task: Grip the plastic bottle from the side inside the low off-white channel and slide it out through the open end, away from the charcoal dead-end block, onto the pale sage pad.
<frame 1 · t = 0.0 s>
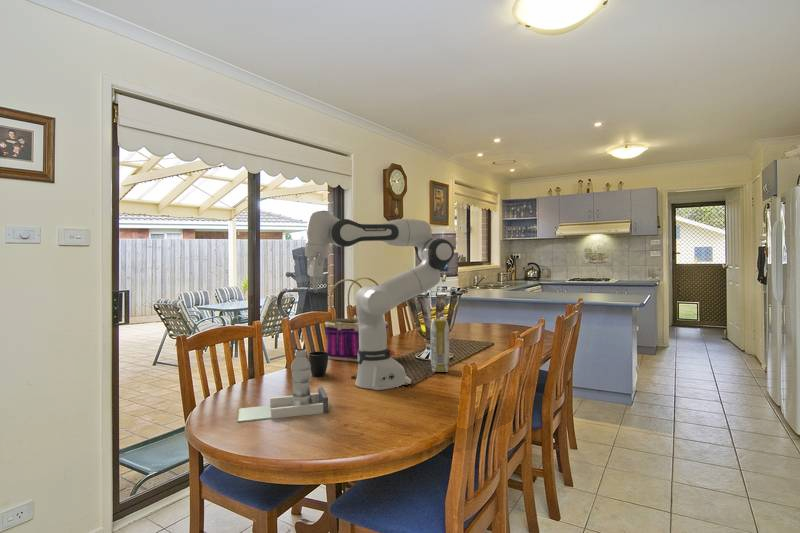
hand: (313, 288, 174), 39 cm above the table, tool pointing down, fingers open, 8 cm apart
channel: (297, 409, 153), on the table
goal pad: (254, 414, 149), on the table
mug: (320, 374, 198), on the table
basket: (356, 358, 229), on the table
juice carton: (439, 371, 202), on the table
plastic bottle: (301, 409, 153), resting in channel
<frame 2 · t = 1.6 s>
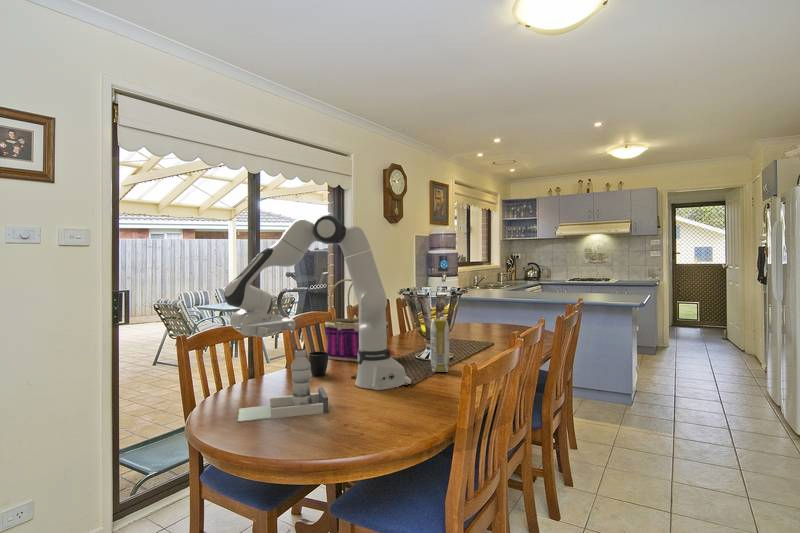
hand: (280, 329, 161), 26 cm above the table, tool horizontal, fingers open, 8 cm apart
nothing on the table moved.
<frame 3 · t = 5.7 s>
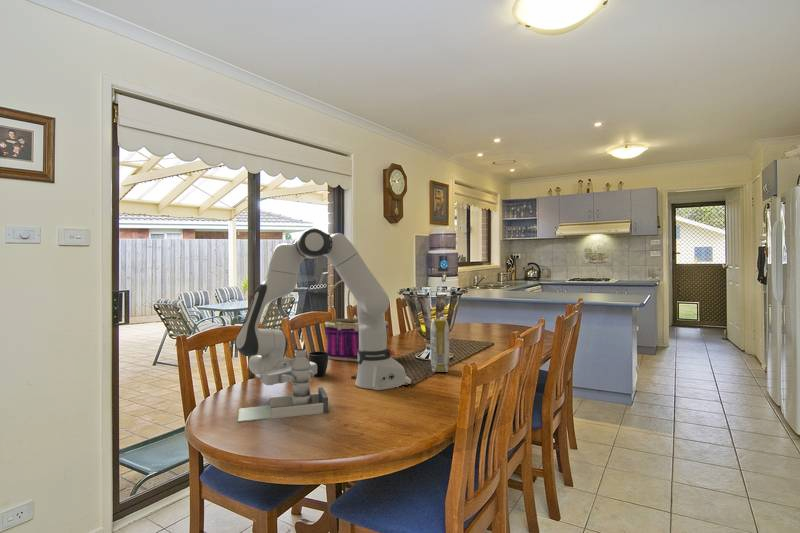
hand: (302, 377, 152), 11 cm above the table, tool horizontal, fingers open, 6 cm apart
plastic bottle: (301, 409, 153), resting in channel, touching gripper
everything else where it was.
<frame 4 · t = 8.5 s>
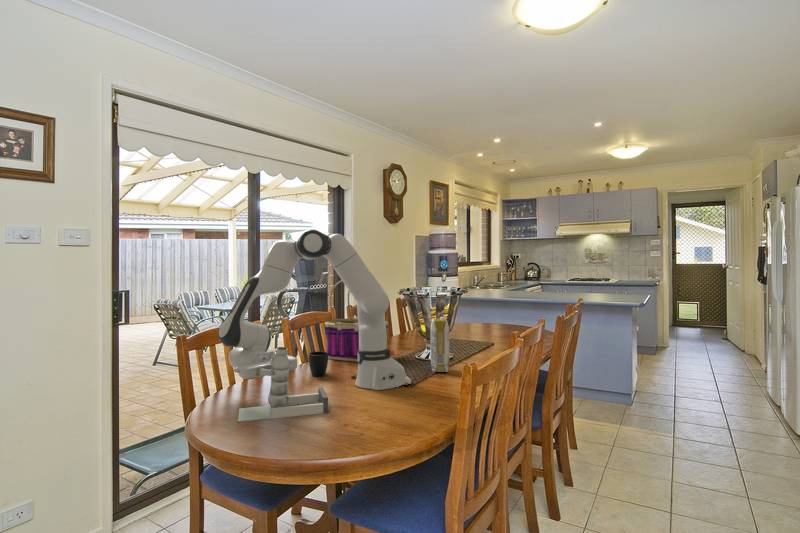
hand: (281, 371, 150), 14 cm above the table, tool horizontal, fingers closed on plastic bottle, 6 cm apart
plastic bottle: (277, 407, 153), point 1 cm above the table, touching gripper
everything else where it was.
when the fingers open (13 cm above the table, at t = 10.9 s): plastic bottle stays where it is, resting on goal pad.
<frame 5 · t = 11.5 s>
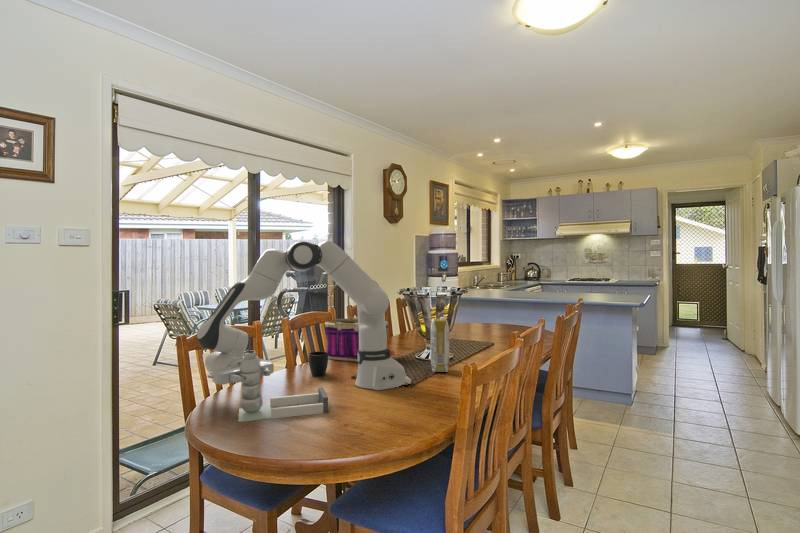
hand: (255, 376, 148), 13 cm above the table, tool horizontal, fingers open, 8 cm apart
plastic bottle: (252, 410, 150), point 1 cm above the table, touching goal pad
everything else where it was.
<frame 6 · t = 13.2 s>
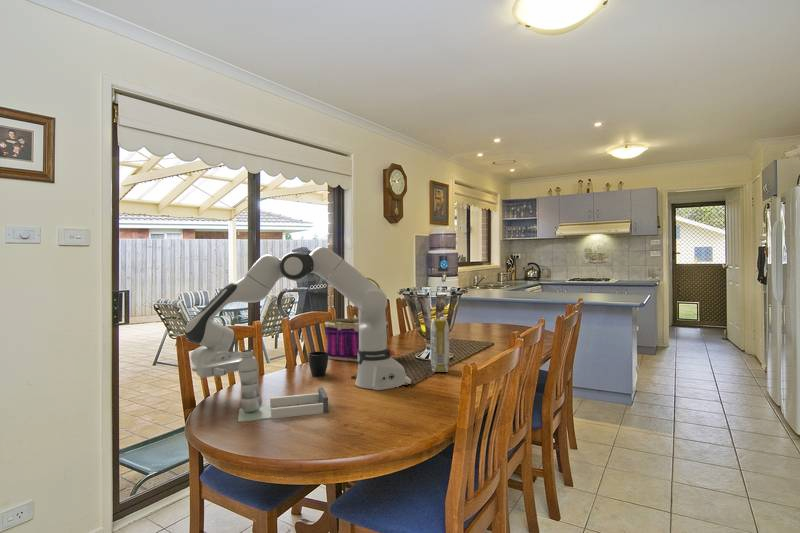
hand: (237, 369, 155), 13 cm above the table, tool horizontal, fingers open, 8 cm apart
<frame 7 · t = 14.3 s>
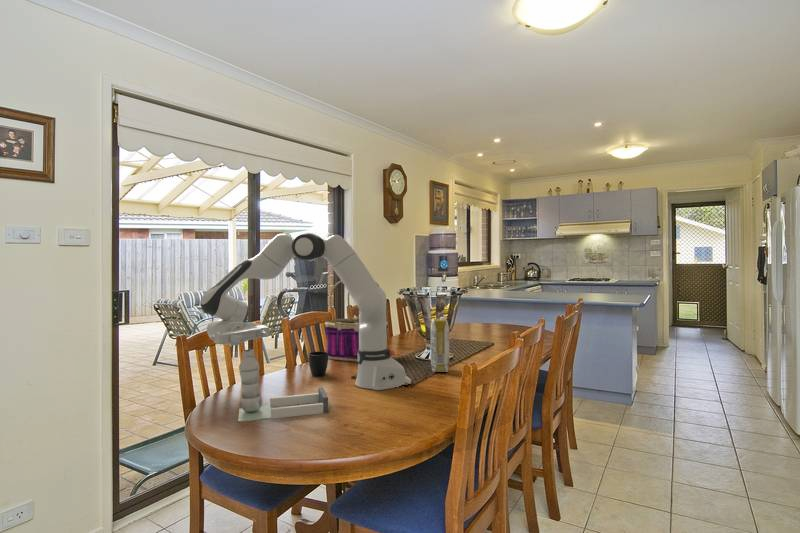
hand: (253, 336, 163), 23 cm above the table, tool horizontal, fingers open, 8 cm apart
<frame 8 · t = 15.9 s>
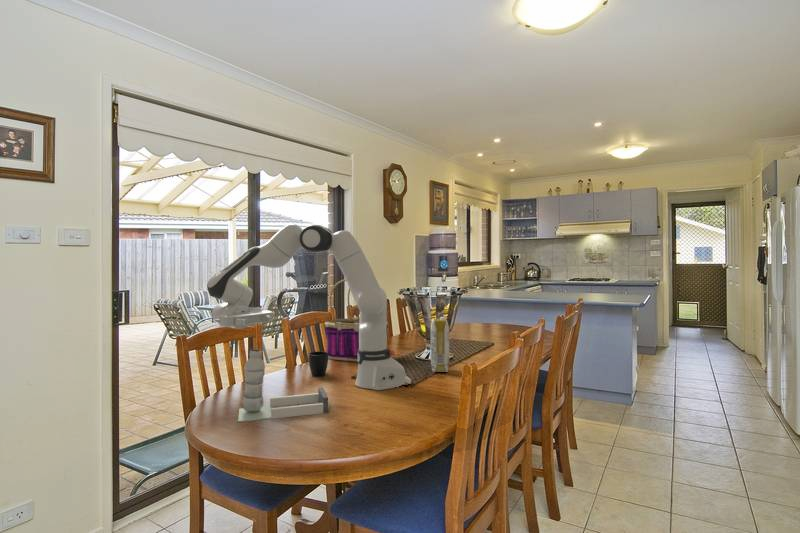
hand: (257, 320, 166), 28 cm above the table, tool horizontal, fingers open, 8 cm apart
at the end: plastic bottle inside the target area on the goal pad (2.0 cm from its centre), point 0.3 cm above the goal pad's base; plastic bottle tilted 1°; the gripper is holding nothing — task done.
